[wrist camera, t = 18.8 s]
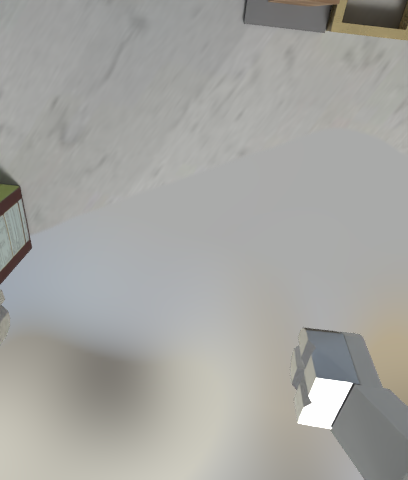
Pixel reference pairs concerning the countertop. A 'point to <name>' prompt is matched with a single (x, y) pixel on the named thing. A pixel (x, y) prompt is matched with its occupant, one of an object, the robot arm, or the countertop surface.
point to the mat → (287, 15)
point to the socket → (335, 24)
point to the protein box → (12, 230)
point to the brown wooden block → (307, 2)
